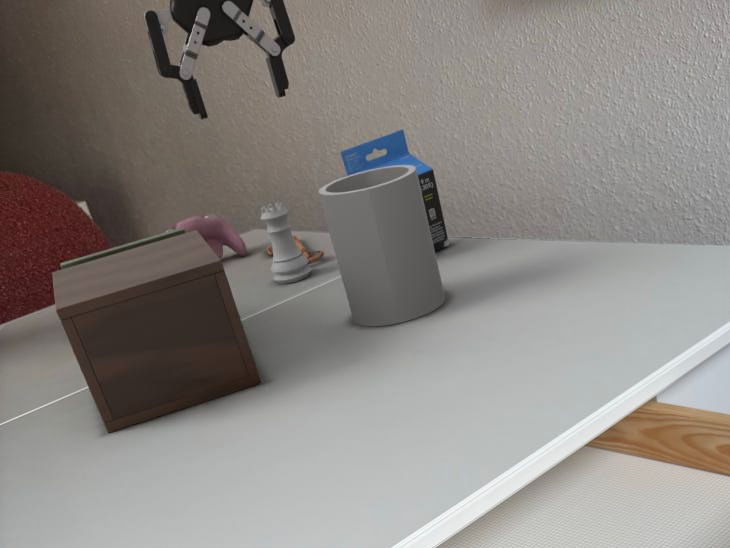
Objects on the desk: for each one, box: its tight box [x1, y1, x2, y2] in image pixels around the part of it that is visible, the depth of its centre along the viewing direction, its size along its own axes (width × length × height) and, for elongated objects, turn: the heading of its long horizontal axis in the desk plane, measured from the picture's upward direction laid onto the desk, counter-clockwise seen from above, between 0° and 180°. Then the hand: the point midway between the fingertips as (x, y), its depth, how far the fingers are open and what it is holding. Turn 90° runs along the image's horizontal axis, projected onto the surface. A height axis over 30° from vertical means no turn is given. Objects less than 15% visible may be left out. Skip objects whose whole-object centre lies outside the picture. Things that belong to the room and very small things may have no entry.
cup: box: [318, 165, 446, 327], centre depth 103 cm, size 9×9×12 cm
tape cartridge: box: [340, 129, 450, 252], centre depth 118 cm, size 9×4×12 cm, turn 132°
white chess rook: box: [259, 201, 312, 285], centre depth 123 cm, size 4×4×8 cm
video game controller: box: [164, 213, 248, 260], centre depth 138 cm, size 10×5×7 cm, turn 130°
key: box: [265, 234, 325, 266], centre depth 133 cm, size 6×1×15 cm
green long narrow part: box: [60, 228, 186, 270], centre depth 108 cm, size 20×13×9 cm, turn 20°
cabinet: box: [51, 230, 263, 434], centre depth 98 cm, size 16×14×11 cm
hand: (242, 107), depth 115 cm, fingers open, 8 cm apart
